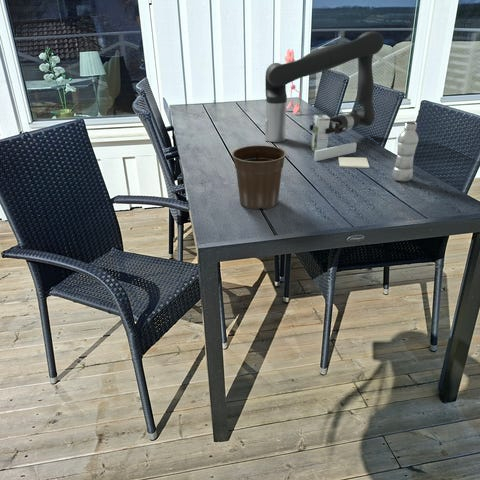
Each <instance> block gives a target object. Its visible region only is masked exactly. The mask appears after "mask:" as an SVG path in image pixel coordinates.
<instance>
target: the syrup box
mask: <svg viewBox="0 0 480 480" xmlns="http://www.w3.org/2000/svg"><path fill="white" fill-rule="evenodd" d="M330 119H331V117H329V116H328V115H327V114H314V115H313V121H312V124H313V130H312V134H311V135H312V136H311V147H310V149H312V151H313V153H315V151H316V150H321V149H325V148H328V140H329V134H325V131H326V129H327V128H329V122H330Z"/></svg>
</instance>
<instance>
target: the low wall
mask: <svg viewBox="0 0 480 480" xmlns="http://www.w3.org/2000/svg"><path fill="white" fill-rule="evenodd" d="M356 152H357V142H355V141H354V142H350V143H345V144H339V145H335V146H331V147H327V148H325V149H321V150H316V151H315V152H313V153H314V156H313V161H314V162H318V161H323V160H327V159H328V160H329V159H330V158H331V159H332V158H336V157H337V158H338V157H342V156H346V155H349V154H352V153H353V154H354V153H356Z"/></svg>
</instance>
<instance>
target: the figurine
mask: <svg viewBox="0 0 480 480" xmlns="http://www.w3.org/2000/svg"><path fill="white" fill-rule="evenodd" d="M294 57H295V56H294V49H293V48H292V49H291V50H290V49H289V48H287V51H286V56H285V57H284V61H285V62H286V63H290V62H294V61H296V60H295V58H294ZM293 82H294V81H292V82H291V85H290V96H292V90H294V91H295V92H297V93H298V98H297V102H296V104H295V105H294V103H293V100H290V102H289V103H288V105H287V106H286V111H287V110H289V108H290V107H291V106H292V107H291V108H290V110H291V109H292V112H293V113H292V114H294V115H293V116H295V115H296V114H297V113H298V112H299V114H300V115H302V111H301V109H300V104H299V99H300V96H301V93H300V91H298V90H297V89H296V85H295V84H293ZM286 118H288V116H287V115H286Z"/></svg>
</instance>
